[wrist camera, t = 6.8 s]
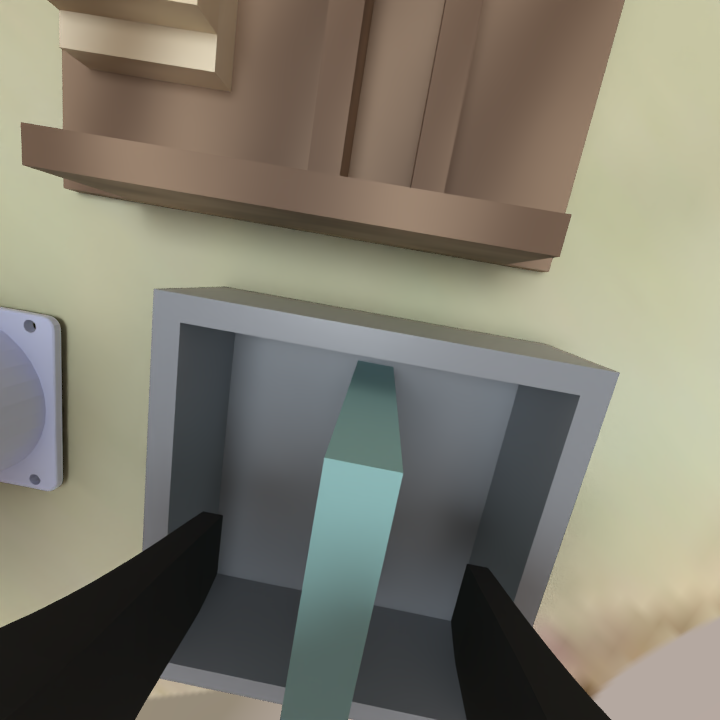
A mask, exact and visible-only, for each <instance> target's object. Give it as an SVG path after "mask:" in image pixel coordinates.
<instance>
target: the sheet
mask: <svg viewBox="0 0 720 720" xmlns="http://www.w3.org/2000/svg"><path fill="white" fill-rule="evenodd" d="M402 477H403V464H402V454H401V443H400V432H399V422H398V411H397V400H396V390H395V379H394V368H393V367H391V366H385V365H380V364H375V363H369V362H364V361H359V360H358V362H357V365H356V368H355V371H354V374H353V376H352V379H351V382H350V385H349V388H348V391H347V394H346V397H345V399H344V402H343V405H342V408H341V411H340V414H339V417H338V420H337V423H336V425H335V428H334V431H333V434H332V437H331V440H330V443H329V446H328V448H327V451H326V454H325V457H324V462H323V468H322V474H321V480H320V486H319V492H318V498H317V504H316V510H315V516H314V522H313V528H312V534H311V539H310V545H309V551H308V557H307V563H306V569H305V575H304V581H303V587H302V593H301V599H300V605H299V611H298V616H297V622H296V628H295V634H294V640H293V646H292V652H291V658H290V664H289V670H288V676H287V682H286V687H285V693H284V699H283V705H282V711H281V717H280V720H348V717H349V713H350V708H351V704H352V699H353V695H354V690H355V686H356V682H357V677H358V673H359V668H360V664H361V659H362V655H363V650H364V646H365V641H366V637H367V633H368V628H369V624H370V619H371V615H372V610H373V606H374V601H375V597H376V593H377V588H378V584H379V579H380V575H381V570H382V566H383V561H384V557H385V552H386V548H387V544H388V539H389V535H390V530H391V526H392V521H393V517H394V512H395V508H396V504H397V499H398V495H399V490H400V486H401V481H402Z"/></svg>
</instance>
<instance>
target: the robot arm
mask: <svg viewBox="0 0 720 720" xmlns="http://www.w3.org/2000/svg"><path fill="white" fill-rule="evenodd" d="M33 322H34V323H35V325H36V329H35V328H34V327H33ZM0 482H4V483H9V484H14V485H19V486H25V487H30V488H35V489H40V490H45V491H52V490H54V489H56V488H57V487H59V486H60V485H61V484H62V482H63V443H62V369H61V327H60V324H59V322H58V321H57V320H56V319H55V318H54V317H52V316H49V315H44V314H38V313H33V312H28V311H22V310H17V309H11V308H6V307H0ZM222 521H223V515H219V514H214V513H209V512H204V511H203V512H201V513H200V514H198V515H197V516H195V517H193V518H192V519H190V520H189V521H187V522H186V523H185V524H183V525H182V526H180V527H179V528H177V529H176V530H174V531H173V532H171V533H170V534H168V535H167V536H165V537H164V538H162V539H161V540H159V541H158V542H156V543H155V544H153V545H152V546H150V547H149V548H147V549H146V550H144V551H143V552H141V553H139V554H138V555H136V556H135V557H133V558H132V559H130V560H129V561H127V562H125V563H124V564H122V565H120V566H119V567H117V568H115V569H114V570H112V571H110V572H109V573H107V574H105V575H104V576H102V577H100V578H99V579H97V580H95V581H93V582H92V583H90V584H88V585H86V586H84V587H83V588H81V589H79V590H77V591H75V592H73V593H72V594H70V595H68V596H66V597H64V598H62V599H60V600H58V601H56V602H54V603H52V604H50V605H48V606H46V607H44V608H42V609H40V610H38V611H36V612H34V613H32V614H30V615H27V616H25V617H23V618H21V619H19V620H16V621H14V622H12V623H10V624H8V625H5V626H3V627H1V628H0V720H135V719H136V717H137V715H138V713H139V711H140V710H141V708H142V706H143V705H144V703H145V701H146V700H147V698H148V696H149V695H150V693H151V691H152V690H153V688H154V686H155V685H156V683H157V681H158V680H159V678H160V676H161V675H162V673H163V671H164V670H165V668H166V666H167V665H168V663H169V661H170V660H171V658H172V657H173V655H174V653H175V652H176V650H177V648H178V647H179V645H180V643H181V642H182V640H183V638H184V637H185V635H186V633H187V632H188V630H189V628H190V627H191V625H192V623H193V622H194V620H195V618H196V616H197V615H198V613H199V611H200V609H201V607H202V605H203V603H204V601H205V599H206V597H207V595H208V593H209V591H210V588H211V586H212V584H213V582H214V580H215V578H216V575H217V572H218V562H219V551H220V541H221V531H222ZM451 628H452V639H453V648H454V657H455V665H456V670H457V675H458V680H459V685H460V690H461V695H462V700H463V705H464V709H465V714H466V719H467V720H611V719H610V718H609V717H608V716H607V715H606V714H605V713H604V712H603V710H602V709H601V708H600V707H599V706H598V705H597V704H596V703H595V702H594V701H593V700H592V699H591V697H590V696H589V695H588V694H587V693H586V692H585V691H584V690H583V688H582V687H581V686H580V685H579V684H578V683H577V681H576V680H575V679H574V678H573V677H572V675H571V674H570V673H569V672H568V671H567V669H566V668H565V667H564V666H563V665H562V664H561V662H560V661H559V660H558V659H557V658H556V656H555V655H554V654H553V653H552V651H551V650H550V649H549V648H548V646H547V645H546V644H545V643H544V641H543V640H542V639H541V638H540V636H539V635H538V634H537V632H536V631H535V630H534V629H533V627H532V626H531V625H530V623H529V622H528V621H527V619H526V618H525V617H524V615H523V614H522V613H521V611H520V610H519V609H518V607H517V606H516V605H515V603H514V602H513V601H512V599H511V598H510V597H509V595H508V594H507V592H506V591H505V590H504V588H503V587H502V586H501V584H500V583H499V582H498V580H497V579H496V577H495V576H494V575H493V573H492V572H491V571H490V570H489V568H487V567H482V566H477V565H471V564H467V565H466V569H465V572H464V576H463V579H462V583H461V587H460V590H459V594H458V597H457V601H456V605H455V608H454V612H453V615H452V619H451Z"/></svg>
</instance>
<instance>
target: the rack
mask: <svg viewBox="0 0 720 720" xmlns="http://www.w3.org/2000/svg"><path fill="white" fill-rule="evenodd" d="M624 1H625V0H238V9H237V21H236V34H235V46H234V59H233V71H232V84H231V92H228V91H222V90H216V89H209V88H203V87H197V86H191V85H185V84H178V83H172V82H166V81H160V80H154V79H148V78H141V77H135V76H129V75H123V74H117V73H110V72H104V71H98V70H92V69H89V68H88V67H86V66H85V65H84V64H82V63H81V62H79V61H78V60H77V59H75V58H74V57H72V56H71V55H70V54H68V53H67V52H65V51H64V50H63V49H62V82H63V129H58V128H52V127H46V126H40V125H34V124H28V123H22V122H21V141H22V165H25V166H28V167H31V168H34V169H37V170H40V171H43V172H46V173H49V174H53V175H56V176H59V177H62V178H64V188H66V189H69V190H73V191H76V192H82V193H87V194H93V195H99V196H105V197H110V198H116V199H122V200H128V201H134V202H139V203H145V204H151V205H157V206H163V207H168V208H174V209H180V210H186V211H192V212H197V213H203V214H209V215H215V216H220V217H226V218H232V219H238V220H244V221H249V222H255V223H261V224H267V225H273V226H278V227H284V228H290V229H296V230H302V231H307V232H313V233H319V234H325V235H331V236H336V237H342V238H348V239H354V240H359V241H365V242H371V243H377V244H383V245H388V246H394V247H400V248H406V249H412V250H417V251H423V252H429V253H435V254H441V255H446V256H452V257H458V258H464V259H470V260H475V261H481V262H487V263H493V264H498V265H504V266H510V267H516V268H522V269H527V270H533V271H539V272H549V269H550V266H551V262H552V259H553V258H554V257H560V253H561V250H562V246H563V243H564V239H565V236H566V232H567V229H568V225H569V222H570V218H571V214H565V212H566V208H567V205H568V201H569V198H570V194H571V191H572V187H573V183H574V180H575V176H576V173H577V169H578V166H579V162H580V158H581V155H582V151H583V148H584V144H585V141H586V137H587V133H588V130H589V126H590V123H591V119H592V116H593V112H594V108H595V105H596V101H597V98H598V94H599V91H600V87H601V83H602V80H603V76H604V73H605V69H606V66H607V62H608V58H609V55H610V51H611V48H612V44H613V41H614V37H615V33H616V30H617V26H618V23H619V19H620V15H621V12H622V8H623V5H624Z"/></svg>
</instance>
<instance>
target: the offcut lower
mask: <svg viewBox="0 0 720 720" xmlns="http://www.w3.org/2000/svg"><path fill="white" fill-rule="evenodd" d="M237 9H238V0H220V3H219V17H218V32H217V34H211V33H204V32H198V31H191V30H185V29H179V28H172V27H166V26H160V25H153V24H147V23H140V22H134V21H128V20H121V19H115V18H109V17H102V16H96V15H90V14H83V13H77V12H70V11H64V10H59V46H60V48H61V49H63V50H64V51H65V52H67V53H68V54H70V55H71V56H72V57H74V58H75V59H77V60H78V61H79V62H81V63H82V64H84V65H85V66H86V67H88V68H89V69H92V70H98V71H104V72H110V73H117V74H123V75H129V76H135V77H141V78H148V79H154V80H160V81H166V82H172V83H178V84H185V85H191V86H197V87H203V88H209V89H216V90H222V91H228V92H231V84H232V71H233V59H234V46H235V34H236V21H237Z"/></svg>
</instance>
